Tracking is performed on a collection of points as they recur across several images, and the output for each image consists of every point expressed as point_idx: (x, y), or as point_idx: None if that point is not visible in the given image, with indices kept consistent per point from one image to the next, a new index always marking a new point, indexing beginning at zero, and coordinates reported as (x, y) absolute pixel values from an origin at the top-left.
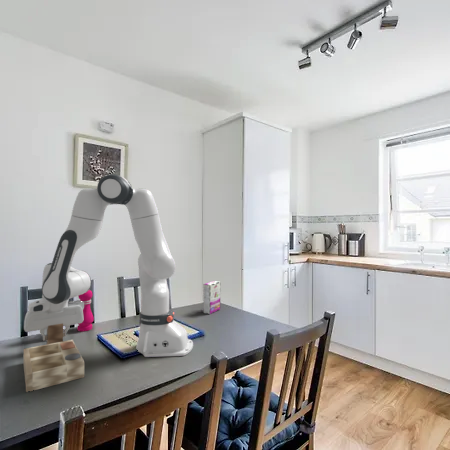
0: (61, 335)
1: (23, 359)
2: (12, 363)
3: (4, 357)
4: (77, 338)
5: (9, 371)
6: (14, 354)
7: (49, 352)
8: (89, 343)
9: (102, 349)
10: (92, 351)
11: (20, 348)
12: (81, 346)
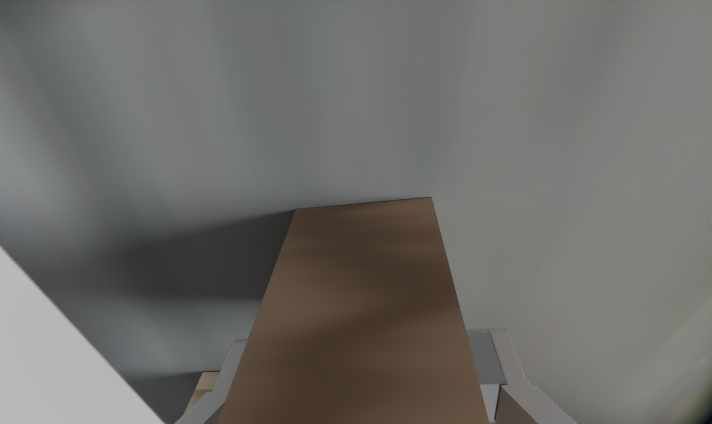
0: None
1: (194, 402)
2: (136, 352)
3: (8, 255)
4: (685, 42)
5: (171, 411)
6: (54, 231)
7: None
8: (687, 267)
9: (682, 390)
10: (608, 390)
11: (9, 99)
12: (589, 298)
